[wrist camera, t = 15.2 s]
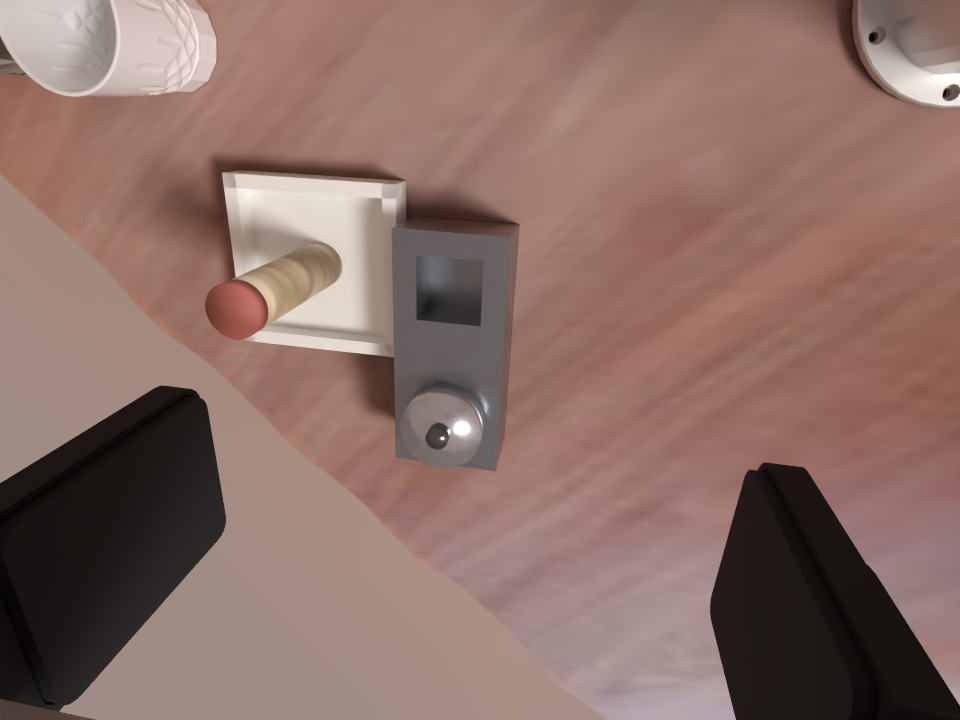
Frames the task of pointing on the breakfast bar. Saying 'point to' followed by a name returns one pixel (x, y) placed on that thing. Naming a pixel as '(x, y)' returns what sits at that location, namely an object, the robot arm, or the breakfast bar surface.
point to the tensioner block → (452, 338)
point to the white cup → (110, 45)
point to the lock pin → (271, 290)
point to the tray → (336, 222)
